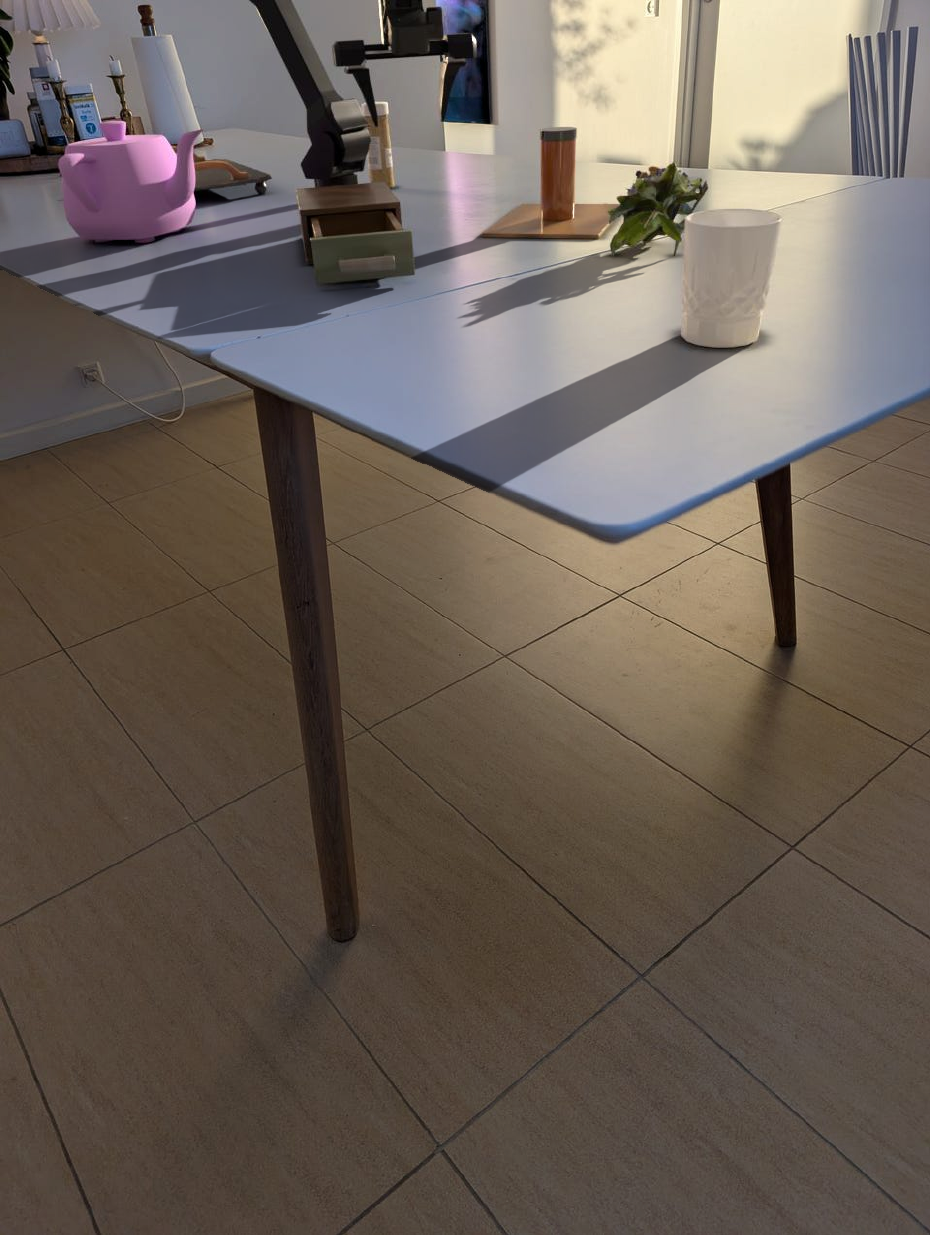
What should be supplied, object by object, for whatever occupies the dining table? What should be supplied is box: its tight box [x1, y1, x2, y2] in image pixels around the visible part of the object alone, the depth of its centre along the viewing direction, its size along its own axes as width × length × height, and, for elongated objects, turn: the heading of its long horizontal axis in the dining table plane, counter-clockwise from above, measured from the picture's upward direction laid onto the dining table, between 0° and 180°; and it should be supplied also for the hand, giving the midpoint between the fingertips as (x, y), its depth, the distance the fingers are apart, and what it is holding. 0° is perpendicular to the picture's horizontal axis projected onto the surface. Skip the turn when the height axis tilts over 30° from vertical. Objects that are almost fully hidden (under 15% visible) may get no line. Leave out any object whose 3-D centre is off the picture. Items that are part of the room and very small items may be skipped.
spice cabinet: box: [295, 182, 403, 266], centre depth 118 cm, size 17×12×6 cm
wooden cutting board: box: [481, 203, 620, 240], centre depth 127 cm, size 16×22×1 cm
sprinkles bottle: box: [361, 101, 395, 189], centre depth 156 cm, size 5×5×14 cm
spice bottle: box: [539, 126, 578, 221], centre depth 123 cm, size 5×5×11 cm
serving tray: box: [171, 145, 273, 196], centre depth 167 cm, size 39×23×6 cm, turn 28°
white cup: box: [680, 208, 783, 349], centre depth 77 cm, size 8×8×10 cm
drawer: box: [310, 209, 416, 285], centre depth 104 cm, size 21×11×5 cm, turn 11°
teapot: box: [58, 120, 205, 244], centre depth 127 cm, size 23×21×15 cm
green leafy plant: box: [608, 161, 709, 257], centre depth 107 cm, size 11×11×12 cm
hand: (409, 124), depth 122 cm, fingers open, 9 cm apart
